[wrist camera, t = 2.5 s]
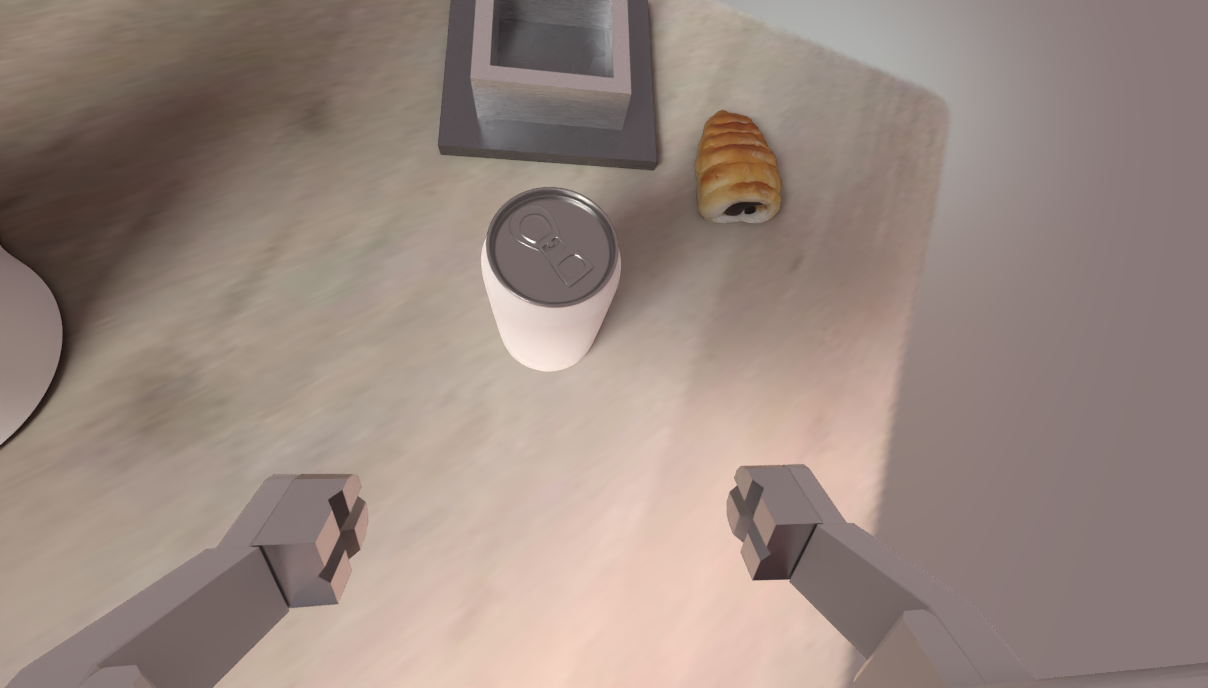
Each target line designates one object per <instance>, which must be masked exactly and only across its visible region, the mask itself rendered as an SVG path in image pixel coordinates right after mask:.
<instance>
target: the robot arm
mask: <svg viewBox="0 0 1208 688" xmlns="http://www.w3.org/2000/svg"><path fill="white" fill-rule="evenodd" d="M61 347H62V321H61V316H60V312H59V309H58V305H57V303H56V301H55V298H54V296H53V294H52V293H51V291H50V289H49V288H48V287H47V285H46V284H45V283H44V281H43V280H42V279H41V278H40V277H39V276H38V275H37V274H36V273H35V272H34V271H33V270H31V269H30V268H29V267H28V266H26V265H25V264H23V263H22V262H20V261H19V260H17V259H16V258H14V257H13V256H11V255H10V254H9V253H8V252H6V251H5V250H4V249H3V248H2V247H1V245H0V445H1V444H2V443H3V442H4V441H5V440H6V439H8V438H9V437H10V436H11V435H12V434H13V433H14V432H15V431H16V430H17V429H18V428H19V427H20V426H21V425H22V424H23V423H24V421H25V420H26V419H27V418H28V417H29V416H30V414H31V413H32V412H33V410H34V409H35V408H36V406H37V405H38V403H39V402H40V401H41V399H42V397H43V396H44V394H45V392H46V391H47V389H48V387H49V385H50V383H51V381H52V378H53V376H54V374H55V371H56V368H57V365H58V362H59V358H60V353H61ZM734 479H735V481H736V483H737V486H736V487H735V488H734V489H732V490H731V491H730V492H729V496H728V499H727V517H728V521H729V525H730V528H731V530H732V533H733V534H734V535H735V536H736V537H737V538H738V539H740V540H741V541H742V542H743V546H742V549H741V555H742V557H743V559H744V562H745V564H746V566H747V569H748V571H749V574H750V576H751V578H752V580H788V579H790V581H789V582H790V583H791V584H792V585H793V586H794V587H795V588H796V589H797V590H798V591H799V592H800V593H801V594H802V595H803V596H804V597H805V598H806V599H807V600H808V601H809V602H810V603H811V604H812V605H813V606H814V607H815V608H816V609H817V610H818V611H819V612H820V613H821V614H822V615H823V616H824V617H825V618H826V619H827V620H828V621H829V622H830V623H831V624H832V625H833V626H834V627H835V628H836V629H837V630H838V631H839V632H840V633H841V634H842V635H843V636H844V637H845V638H846V639H847V640H848V641H849V642H850V643H851V644H852V645H853V646H854V647H855V648H856V649H857V650H858V651H859V652H860V653H861V654H862V655H863V656H864V657H865V658H866V659H867V661H866V663H865V664H864V665H863V667H862V668H861V669H860V671H859V672H858V673H857V675H856V676H855V679H854V682H853V684H854V686H855V688H1208V662H1205V663H1196V664H1186V665H1177V666H1167V667H1157V668H1147V669H1136V670H1126V671H1116V672H1106V673H1095V674H1086V675H1075V676H1064V677H1054V678H1044V679H1035V678H1034V677H1033V676H1032V675H1031V673H1030V672H1029V671H1028V670H1027V668H1026V667H1025V666H1024V665H1023V664H1022V662H1021V661H1020V660H1019V659H1018V658H1017V656H1016V655H1015V654H1014V653H1013V651H1012V650H1011V649H1010V648H1009V646H1007V644H1006V643H1005V642H1004V640H1003V639H1002V638H1001V637H1000V635H999V634H998V633H997V632H996V631H995V630H994V628H993V627H992V626H991V624H990V623H989V622H988V621H987V620H986V618H985V617H984V616H983V615H982V613H981V612H980V611H979V610H978V609H977V607H976V606H975V605H974V604H973V603H971V602H970V601H968V600H967V599H965V598H964V597H962V596H961V595H959V594H958V593H957V592H955V591H953V590H952V589H951V588H949V587H948V586H946V585H945V584H943V583H942V582H940V581H939V580H937V579H936V578H934V577H932V576H931V575H929V574H928V573H927V572H925V571H924V570H922V569H920V568H919V567H918V566H916V565H915V564H913V563H911V562H910V561H909V560H907V559H906V558H904V557H903V556H901V555H900V554H898V553H897V552H896V551H894V550H893V549H891V548H890V547H888V546H887V545H885V544H884V543H882V542H881V541H879V540H878V539H876V538H875V537H873V536H872V535H870V534H869V533H867V532H866V531H864V530H863V529H861V528H860V527H858V526H857V525H855V524H854V523H846V521H845V520H844V518H843V517H842V515H841V514H840V512H839V511H838V509H837V508H836V507H835V505H834V504H833V502H832V501H831V499H830V498H829V496H828V495H827V494H826V492H825V491H824V489H823V488H822V486H821V485H820V483H819V482H818V480H817V479H816V478H815V476H814V475H813V473H812V472H811V470H810V469H809V468H808V467H807V466H805V465H804V464H794V465H757V466H740V467H739V468H738V469H737V471H736V474H735V477H734ZM361 488H362V486H361V483H360V480H359V477H358V475H355V474H274V475H272V476H271V477H269V478H267V479H266V480H265V481H264V482H263V484H262V485H261V486H260V488H259V489H258V491H257V492H256V493H255V495H254V496H253V498H252V499H251V500H250V502H249V503H248V505H247V506H246V507H245V509H244V510H243V511H242V513H241V514H240V516H239V517H238V518H237V520H236V521H235V523H234V524H233V525H232V527H231V528H230V529H229V531H228V532H227V534H226V535H225V536H224V538H223V539H222V541H221V542H220V543H219V545H218V546H217V548H212V549H206V550H204V551H203V552H201V553H200V554H198V555H197V556H195V557H193V558H192V559H190V560H189V561H187V562H186V563H184V564H183V565H181V566H180V567H178V568H177V569H175V570H173V571H172V572H170V573H169V574H167V575H166V576H164V577H163V578H161V579H160V580H158V581H157V582H155V583H154V584H152V585H150V586H149V587H147V588H146V589H144V590H143V591H141V592H140V593H138V594H137V595H135V596H134V597H132V598H130V599H129V600H127V601H126V602H124V603H123V604H121V605H120V606H118V607H117V608H115V609H114V610H112V611H110V612H109V613H107V614H106V615H104V616H103V617H101V618H100V619H98V620H97V621H95V622H94V623H92V624H91V625H89V626H87V627H86V628H84V629H83V630H81V631H80V632H78V633H77V634H75V635H74V636H72V637H71V638H69V639H67V640H66V641H64V642H63V643H61V644H60V645H58V646H57V647H55V648H54V649H52V650H51V651H49V652H48V653H46V654H44V655H43V656H41V657H40V658H38V659H37V660H35V661H34V662H32V663H31V664H29V665H28V666H26V667H24V668H23V669H21V670H20V671H19V672H18V674H17V675H16V676H15V677H14V678H13V679H12V680H11V681H10V682H9V684H8V685H7V686H6V687H5V688H213V687H214V686H215V685H216V684H217V683H218V682H219V681H220V680H221V679H222V678H223V677H224V676H225V675H226V674H227V673H228V672H229V671H230V670H231V669H232V668H233V667H234V666H235V665H236V664H237V663H238V662H239V661H240V660H241V659H242V658H243V657H244V656H245V655H246V654H247V653H248V652H249V651H250V650H251V649H252V648H253V647H254V646H255V645H256V644H257V643H258V642H259V641H260V640H261V639H262V638H263V637H264V636H265V635H266V634H267V633H268V632H269V631H270V630H271V629H272V628H273V627H274V626H275V625H276V624H277V623H278V622H279V621H280V620H281V619H282V618H283V617H284V616H285V615H286V614H287V613H288V612H289V609H288V608H298V607H310V606H322V605H334V604H339V601H340V599H341V596H342V594H343V591H344V589H345V587H346V584H347V582H348V579H349V577H350V574H351V572H352V569H351V566H350V563H349V559H350V558H351V557H352V556H354V555H355V554H356V553H357V552H358V551H359V550H361V547H362V544H363V542H364V539H365V536H366V531H367V526H368V508H367V504H366V502H365V501H364V500H362V499H361V498H360V497H358V494H359V492H360V490H361Z"/></svg>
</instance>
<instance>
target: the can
mask: <svg viewBox="0 0 1208 688" xmlns="http://www.w3.org/2000/svg"><path fill="white" fill-rule="evenodd" d="M481 267H482V275H483V279H484V283H485V287H486V290H487V294H488V297H489V300H490V303H491V307H492V310H493V313H494V316H495V319H496V322H497V326H498V329H499V332H500V335H501V337H502V340H503V342H504V345H505V346H506V348H507V350H508V351H509V352H510V354H511V355H512V356H513V357H514V358H515V359H516V360H517V361H519V362H520V363H521V364H523V365H525V366H527V367H529V368H532V369H535V370H539V371H558V370H562V369H565V368H568V367H570V366H572V365H574V364H575V363H577V362H578V361H579V360H581V359H582V358H583V357H584V356H585V354H586V353H587V352H588V350H589V349H590V347H591V345H592V344H593V342H594V339H595V337H596V335H597V333H598V331H599V329H600V326H601V324H602V322H603V320H604V318H605V315H606V313H607V311H608V309H609V306H610V304H611V302H612V299H613V297H614V295H615V292H616V289H617V287H618V283H619V279H620V273H621V257H620V252H619V248H618V239H617V235H616V232H615V229H614V227H613V225H612V223H611V221H610V219H609V218H608V216H607V215H606V214H605V212H604V211H603V210H602V209H601V208H600V207H599V206H598V205H597V204H596V203H594V202H593V201H592V200H590V199H589V198H587V197H585V196H584V195H582V194H579V193H577V192H574V191H571V190H568V189H564V188H557V187H543V188H536V189H531V190H528V191H525V192H523V193H520V194H518V195H516V196H515V197H513V198H511V199H510V200H509V201H507V202H506V203H505V204H504V205H503V206H502V207H501V208H500V209H499V210H498V212H497V213H496V214H495V216H494V217H493V219H492V221H491V223H490V226H489V229H488V232H487V236H486V239H485V241H484V245H483V249H482V255H481Z"/></svg>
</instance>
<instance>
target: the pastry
mask: <svg viewBox="0 0 1208 688" xmlns="http://www.w3.org/2000/svg"><path fill="white" fill-rule="evenodd" d="M694 166H695V172H696V175H697V178H696V179H697V190H696V193H697V201H698V209H699V212H700V214H701V215H702V217H703V218H704V219H705V220H711V221H712V222H714V223H722V224H726V223H734V222H739V221H744V222H747V223H763V222H766V221H768V220H770V219H771V218H772V217H774V216H775V215H776V214H777V213H778V211H779V210H780V203H781V196H780V190H781V185H782V184H781V179H780V176H779V173H778V170H777V161H776V157H775V155H773V153H772V151H771V149H769V148H768V145H767V143H766V141H765V140H764V138H763V135H762V133H761V132H760V131H759V129H758V127H757V126H756V125H755V124H754V123H753V122H752V120H751V119H750V118H748V117H746V116H743V115H739V114H733V113H728V112H727V111H725V110H721V111H719V112H717V113H716V114H715V115H714V116H713V117H711V118H710V119H709V120H708V121H707V122H706V123H705V125H704V130H703V134H702V137H701V139H700V141H699V144H698V154H697V159H696V161H695V165H694Z"/></svg>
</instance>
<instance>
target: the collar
mask: <svg viewBox="0 0 1208 688" xmlns="http://www.w3.org/2000/svg"><path fill="white" fill-rule="evenodd" d="M438 147H439V150H440V153H441V154H442V155H456V156H469V157H483V158H496V159H510V160H523V161H537V162H551V163H564V164H578V165H591V166H605V167H618V168H632V169H645V170H654V168H655V165H656V163H657V156H656V138H655V120H654V102H653V85H652V67H651V49H650V31H649V14H648V0H451V6H450V17H449V28H448V39H447V50H446V61H445V72H444V84H443V95H442V106H441V117H440V128H439V139H438Z"/></svg>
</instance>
